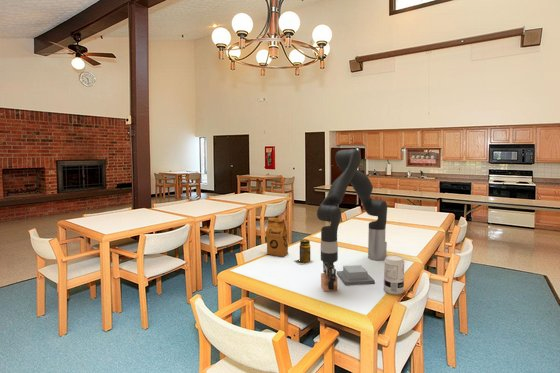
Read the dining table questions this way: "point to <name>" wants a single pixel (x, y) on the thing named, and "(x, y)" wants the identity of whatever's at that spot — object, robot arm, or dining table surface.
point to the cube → (325, 282)
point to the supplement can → (394, 274)
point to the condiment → (304, 252)
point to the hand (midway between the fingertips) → (329, 286)
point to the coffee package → (277, 237)
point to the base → (355, 282)
